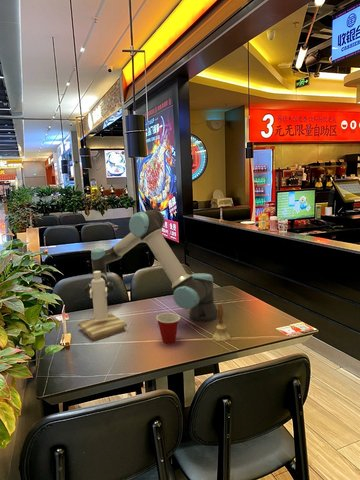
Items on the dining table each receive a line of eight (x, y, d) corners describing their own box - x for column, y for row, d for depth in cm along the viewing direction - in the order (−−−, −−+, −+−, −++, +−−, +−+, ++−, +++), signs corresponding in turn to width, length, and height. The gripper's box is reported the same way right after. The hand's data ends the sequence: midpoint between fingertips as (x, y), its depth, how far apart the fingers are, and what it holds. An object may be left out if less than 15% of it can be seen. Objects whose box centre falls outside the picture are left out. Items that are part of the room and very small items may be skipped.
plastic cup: (178, 347, 157) (177, 321, 155) (155, 346, 160) (153, 320, 157) (183, 336, 168) (182, 312, 166) (161, 335, 170) (159, 311, 168)
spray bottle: (97, 314, 182) (92, 266, 178) (109, 314, 182) (105, 266, 177) (92, 319, 176) (87, 270, 171) (105, 319, 175) (101, 270, 171)
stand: (127, 330, 178) (126, 323, 177) (92, 342, 167) (92, 334, 167) (111, 320, 192) (110, 313, 191) (78, 330, 182) (78, 322, 181)
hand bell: (226, 343, 159) (224, 308, 156) (209, 339, 163) (207, 306, 161) (233, 335, 166) (232, 302, 163) (217, 332, 170) (216, 300, 168)
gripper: (118, 286, 196) (119, 299, 174) (81, 289, 193) (78, 304, 170) (117, 272, 195) (118, 284, 172) (80, 276, 191) (76, 289, 169)
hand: (98, 294), depth 171 cm, fingers closed on spray bottle, 7 cm apart
